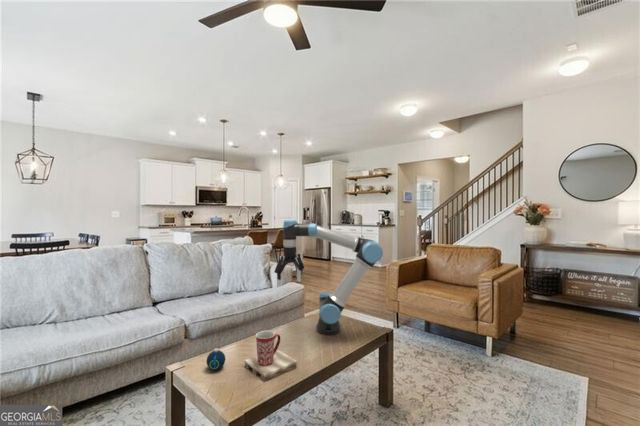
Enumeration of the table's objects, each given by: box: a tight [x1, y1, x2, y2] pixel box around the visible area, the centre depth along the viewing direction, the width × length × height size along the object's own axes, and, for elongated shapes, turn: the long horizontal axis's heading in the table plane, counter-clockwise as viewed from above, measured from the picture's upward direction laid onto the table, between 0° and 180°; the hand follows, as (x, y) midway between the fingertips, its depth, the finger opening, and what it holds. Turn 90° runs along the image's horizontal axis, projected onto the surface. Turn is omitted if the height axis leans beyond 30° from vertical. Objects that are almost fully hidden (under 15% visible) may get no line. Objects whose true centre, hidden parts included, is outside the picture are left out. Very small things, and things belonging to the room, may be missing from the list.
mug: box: [255, 330, 281, 366], centre depth 146 cm, size 13×9×14 cm
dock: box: [244, 349, 298, 382], centre depth 147 cm, size 18×18×3 cm
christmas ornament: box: [206, 347, 226, 371], centre depth 145 cm, size 8×8×10 cm
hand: (289, 283), depth 178 cm, fingers open, 13 cm apart
